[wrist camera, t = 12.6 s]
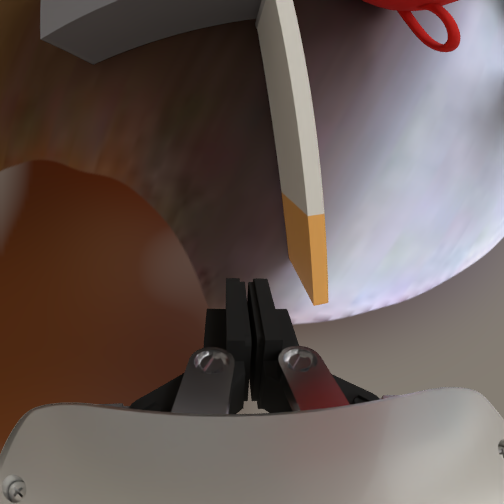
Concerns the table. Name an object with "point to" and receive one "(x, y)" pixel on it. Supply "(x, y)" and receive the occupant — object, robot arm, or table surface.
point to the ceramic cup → (404, 4)
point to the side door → (295, 144)
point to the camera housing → (131, 22)
